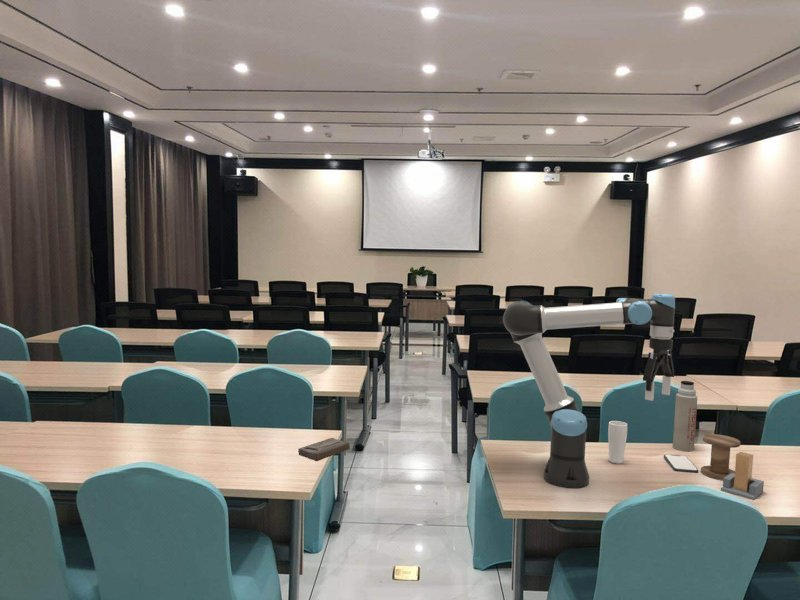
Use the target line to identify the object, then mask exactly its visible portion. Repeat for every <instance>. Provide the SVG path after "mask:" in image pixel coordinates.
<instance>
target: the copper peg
mask: <svg viewBox="0 0 800 600" xmlns="http://www.w3.org/2000/svg"><path fill="white" fill-rule="evenodd" d="M753 461H754V454H751V453H748V452H744V451H738V452H737V453H736V455H735V466H734V467H735V468H734V471H735V478H734V489H736V490H740V491H743V492H748V491H749V486H750V484H751V479H752V478H753V477H752V475H753V474H752V473H753V465H754V462H753Z"/></svg>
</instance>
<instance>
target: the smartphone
mask: <svg viewBox="0 0 800 600" xmlns="http://www.w3.org/2000/svg"><path fill="white" fill-rule="evenodd" d="M663 459H664V460H665V461H666V463H667V464H668V466H669V467H670V468H671V469H672V470H673V471H674V472H678V473H690V474H691V473H692V474H698V473H699V469H698V468H697V466H696V465H695V464H694V463H693V462H692V461H691V460H690V459H689V458H688V456H687V455H686V456H685V455H679V454H664V455H663Z"/></svg>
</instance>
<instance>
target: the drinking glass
mask: <svg viewBox="0 0 800 600" xmlns="http://www.w3.org/2000/svg"><path fill="white" fill-rule="evenodd" d="M607 431H608V432H607V437H608V439H607V441H608V461H609V462H610V463H612V464H617V465H619V464H620V465H621V464H623V463H624V461H625V459H624V457H625V451H626V443H627V438H628V437H627V436H628V423H627V422H624V421H620V420H611V421H609V422H608V430H607Z"/></svg>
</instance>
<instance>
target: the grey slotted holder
mask: <svg viewBox="0 0 800 600" xmlns="http://www.w3.org/2000/svg"><path fill="white" fill-rule="evenodd" d="M734 478H735V474H734V473H731V474H729V475H728V476H726V477H725V478H724V479H723V480H722V487H720V492H721V491H722V492H724V493H728V494H731V495H735V496H738V497H742V498H746V499H750V500H755V499H757V497H759V496H760V495H761V494H763V493H764V488H765V487H764V486H765V481H764V480H761V479H757V478H754V477H752V479H751V484H750V486H749V491H748V492H743V491H740V490H736V489H734Z"/></svg>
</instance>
